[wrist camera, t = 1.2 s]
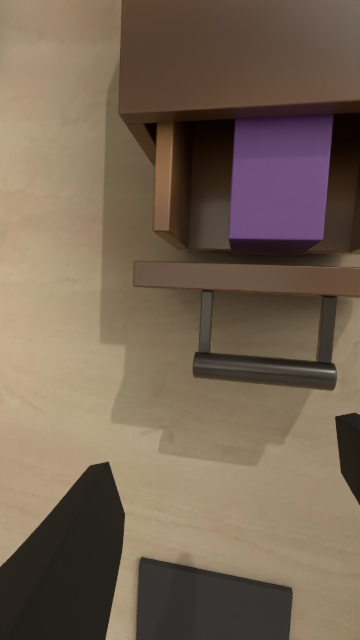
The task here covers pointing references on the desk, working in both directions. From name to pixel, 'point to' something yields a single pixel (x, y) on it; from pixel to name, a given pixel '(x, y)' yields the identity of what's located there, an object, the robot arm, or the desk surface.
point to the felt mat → (208, 605)
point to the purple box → (279, 184)
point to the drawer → (212, 235)
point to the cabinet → (235, 61)
